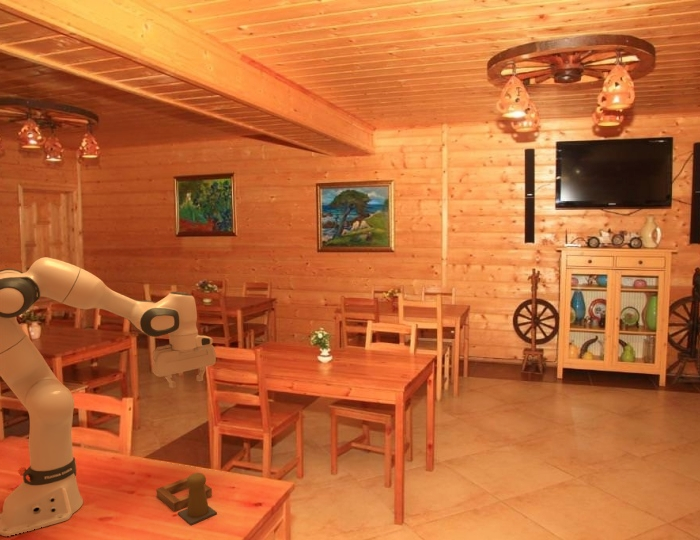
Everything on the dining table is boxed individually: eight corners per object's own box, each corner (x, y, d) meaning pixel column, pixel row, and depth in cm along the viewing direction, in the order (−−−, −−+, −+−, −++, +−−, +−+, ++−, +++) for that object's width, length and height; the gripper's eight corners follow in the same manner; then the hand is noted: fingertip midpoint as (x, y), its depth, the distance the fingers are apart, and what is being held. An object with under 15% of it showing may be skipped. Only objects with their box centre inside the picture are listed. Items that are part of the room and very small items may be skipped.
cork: (200, 504, 161) (198, 468, 160) (213, 510, 158) (211, 474, 156) (182, 513, 157) (180, 476, 156) (195, 520, 153) (193, 482, 152)
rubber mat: (190, 525, 151) (190, 523, 151) (177, 514, 157) (177, 512, 157) (216, 514, 157) (216, 512, 157) (203, 503, 163) (203, 501, 163)
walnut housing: (174, 511, 159) (174, 503, 158) (156, 496, 167) (156, 488, 167) (211, 496, 167) (211, 488, 167) (193, 482, 176) (192, 475, 175)
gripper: (156, 349, 166) (159, 393, 168) (217, 337, 180) (219, 379, 182) (148, 346, 171) (150, 389, 172) (207, 335, 185) (209, 375, 186)
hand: (186, 383), depth 177 cm, fingers open, 8 cm apart
